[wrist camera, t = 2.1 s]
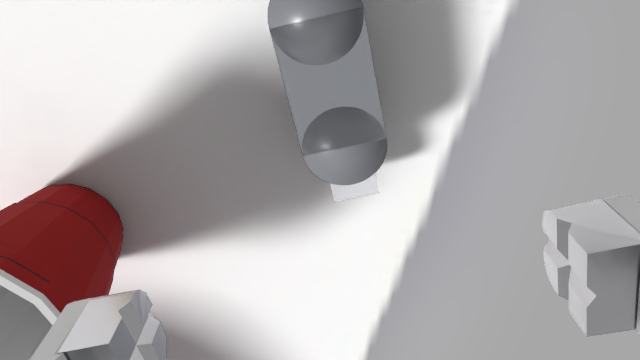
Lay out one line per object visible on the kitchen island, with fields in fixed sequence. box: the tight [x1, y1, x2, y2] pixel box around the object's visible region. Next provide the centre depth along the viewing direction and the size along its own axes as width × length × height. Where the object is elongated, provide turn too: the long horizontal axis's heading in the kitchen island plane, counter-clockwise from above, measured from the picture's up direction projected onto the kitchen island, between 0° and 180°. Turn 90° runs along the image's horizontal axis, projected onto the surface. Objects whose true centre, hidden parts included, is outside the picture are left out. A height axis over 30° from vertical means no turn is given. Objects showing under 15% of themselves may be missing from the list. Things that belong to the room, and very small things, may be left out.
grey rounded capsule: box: [268, 0, 387, 202], centre depth 25 cm, size 4×12×4 cm, turn 13°
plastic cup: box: [0, 184, 123, 360], centre depth 25 cm, size 11×11×12 cm
